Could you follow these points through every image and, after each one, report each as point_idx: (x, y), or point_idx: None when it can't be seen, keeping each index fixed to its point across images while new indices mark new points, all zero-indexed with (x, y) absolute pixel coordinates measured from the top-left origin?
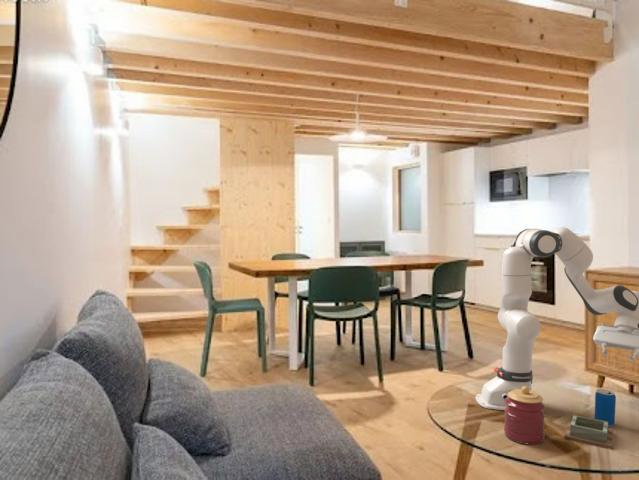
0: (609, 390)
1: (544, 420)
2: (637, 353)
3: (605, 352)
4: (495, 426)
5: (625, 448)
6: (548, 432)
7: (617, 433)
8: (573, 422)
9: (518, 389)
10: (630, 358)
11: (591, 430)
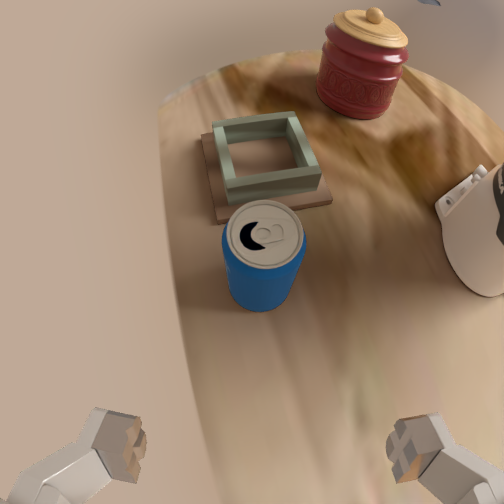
0: (257, 265)
1: (326, 65)
2: (51, 460)
3: (413, 420)
4: (407, 107)
5: (176, 162)
6: (335, 133)
7: (208, 236)
8: (296, 127)
9: (396, 30)
10: (134, 419)
11: (246, 117)
